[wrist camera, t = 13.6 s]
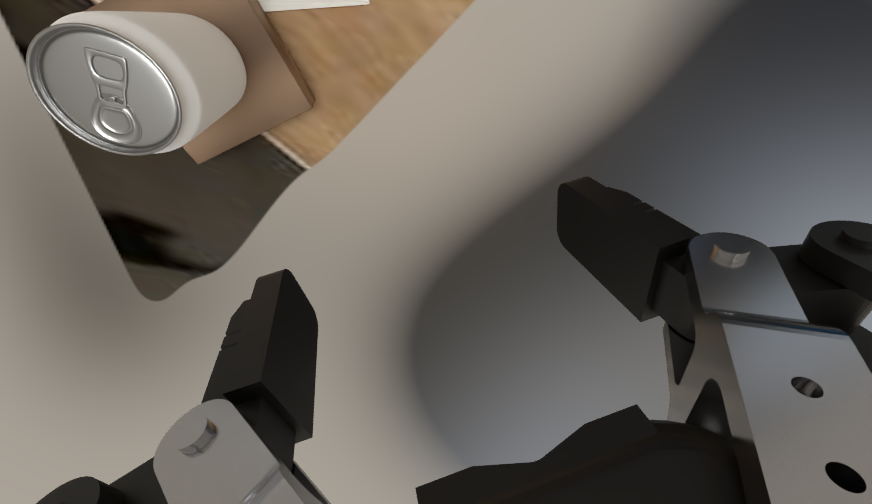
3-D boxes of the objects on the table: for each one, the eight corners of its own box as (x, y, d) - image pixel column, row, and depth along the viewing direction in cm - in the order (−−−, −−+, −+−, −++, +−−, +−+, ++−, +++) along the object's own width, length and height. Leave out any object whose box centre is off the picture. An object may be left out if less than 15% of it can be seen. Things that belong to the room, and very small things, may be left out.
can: (151, 97, 26) (33, 146, 16) (141, -4, 22) (-13, -19, 13) (246, 121, 28) (194, 176, 18) (250, 32, 25) (188, 43, 15)
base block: (102, 19, 25) (67, 19, 22) (229, -48, 25) (212, -57, 22) (213, 149, 32) (198, 164, 29) (315, 98, 31) (311, 108, 28)
